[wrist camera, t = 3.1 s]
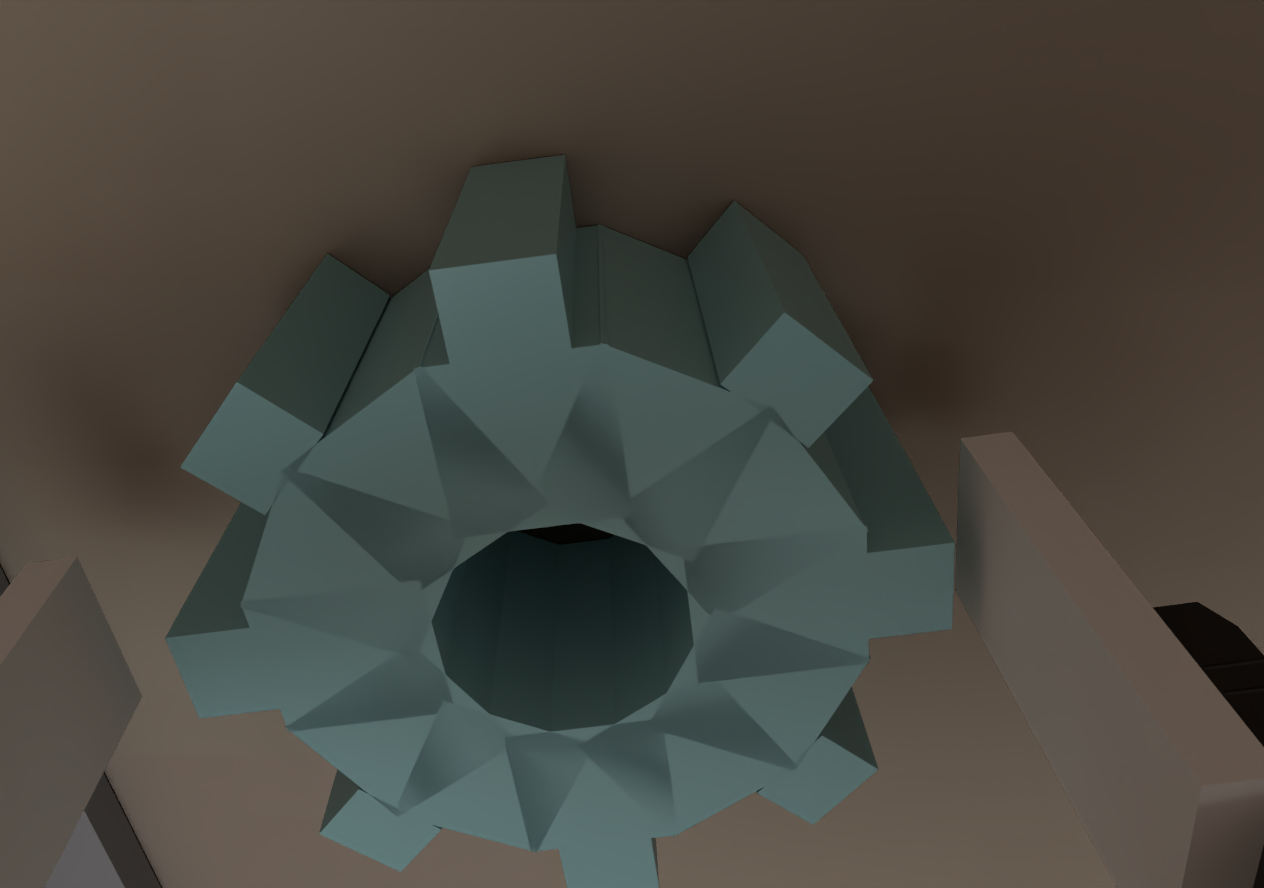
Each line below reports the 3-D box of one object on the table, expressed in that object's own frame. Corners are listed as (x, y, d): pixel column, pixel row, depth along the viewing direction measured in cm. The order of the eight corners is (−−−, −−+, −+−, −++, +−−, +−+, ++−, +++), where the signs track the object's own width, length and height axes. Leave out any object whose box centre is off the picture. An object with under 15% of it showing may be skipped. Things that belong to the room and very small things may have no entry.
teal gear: (177, 205, 17) (31, 321, 12) (865, 114, 16) (965, 201, 12) (349, 718, 22) (289, 930, 18) (873, 657, 22) (945, 855, 17)
